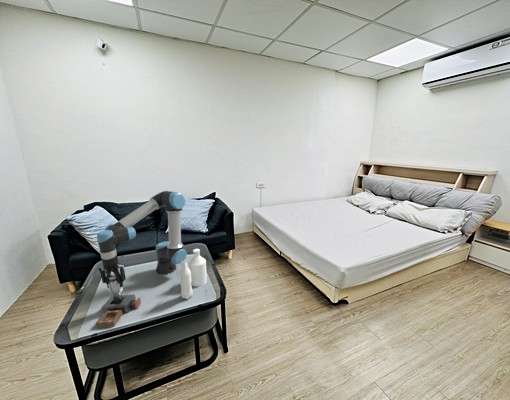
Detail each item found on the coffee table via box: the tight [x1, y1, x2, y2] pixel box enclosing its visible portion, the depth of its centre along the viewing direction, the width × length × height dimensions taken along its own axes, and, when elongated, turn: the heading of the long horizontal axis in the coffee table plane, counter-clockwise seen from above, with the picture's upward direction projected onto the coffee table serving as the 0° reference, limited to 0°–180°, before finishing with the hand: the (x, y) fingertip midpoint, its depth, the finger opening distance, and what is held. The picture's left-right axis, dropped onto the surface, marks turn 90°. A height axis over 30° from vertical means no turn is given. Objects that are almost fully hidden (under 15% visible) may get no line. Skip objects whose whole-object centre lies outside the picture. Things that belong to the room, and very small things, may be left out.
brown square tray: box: [96, 310, 124, 328], centre depth 121 cm, size 9×9×3 cm
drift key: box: [130, 297, 142, 309], centre depth 132 cm, size 8×4×4 cm, turn 95°
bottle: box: [188, 248, 208, 287], centre depth 154 cm, size 12×12×25 cm
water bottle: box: [178, 260, 194, 300], centre depth 138 cm, size 7×7×25 cm
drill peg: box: [109, 273, 123, 304], centre depth 129 cm, size 5×5×18 cm
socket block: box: [101, 294, 137, 315], centre depth 131 cm, size 14×10×5 cm
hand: (116, 291), depth 130 cm, fingers closed on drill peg, 5 cm apart
